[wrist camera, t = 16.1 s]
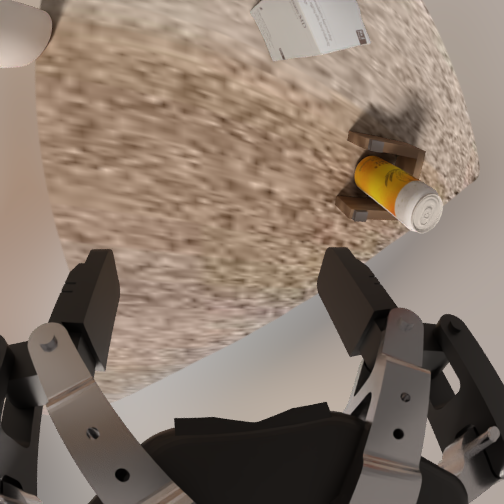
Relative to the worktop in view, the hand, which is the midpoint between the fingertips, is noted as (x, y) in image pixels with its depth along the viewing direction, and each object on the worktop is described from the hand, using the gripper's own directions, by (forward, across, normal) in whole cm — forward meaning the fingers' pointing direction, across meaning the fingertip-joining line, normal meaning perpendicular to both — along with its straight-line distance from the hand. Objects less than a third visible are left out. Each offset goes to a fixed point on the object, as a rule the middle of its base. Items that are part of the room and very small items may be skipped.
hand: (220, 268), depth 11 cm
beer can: (+30, -26, +4) cm, 40 cm away
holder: (+30, -26, +4) cm, 39 cm away
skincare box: (+30, -9, -15) cm, 35 cm away
